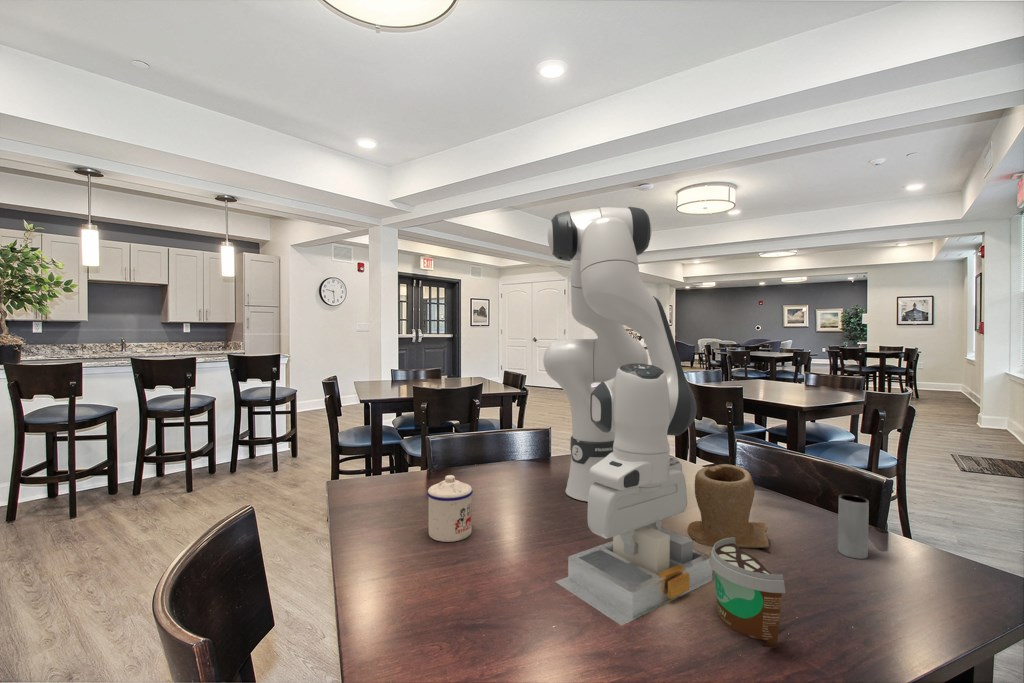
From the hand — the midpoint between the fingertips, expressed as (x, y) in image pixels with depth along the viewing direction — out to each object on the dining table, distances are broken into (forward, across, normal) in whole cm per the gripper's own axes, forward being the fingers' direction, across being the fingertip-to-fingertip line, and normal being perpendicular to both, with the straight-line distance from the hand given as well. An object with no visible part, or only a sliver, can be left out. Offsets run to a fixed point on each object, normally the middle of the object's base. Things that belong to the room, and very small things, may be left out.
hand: (640, 550), depth 78 cm
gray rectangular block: (+4, -6, 0) cm, 8 cm away
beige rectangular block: (+2, 0, 0) cm, 2 cm away
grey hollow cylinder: (+6, -41, +15) cm, 44 cm away
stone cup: (+6, -26, 0) cm, 27 cm away
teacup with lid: (+6, +15, -36) cm, 39 cm away
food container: (+6, -2, +15) cm, 16 cm away
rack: (+6, 0, 0) cm, 6 cm away
